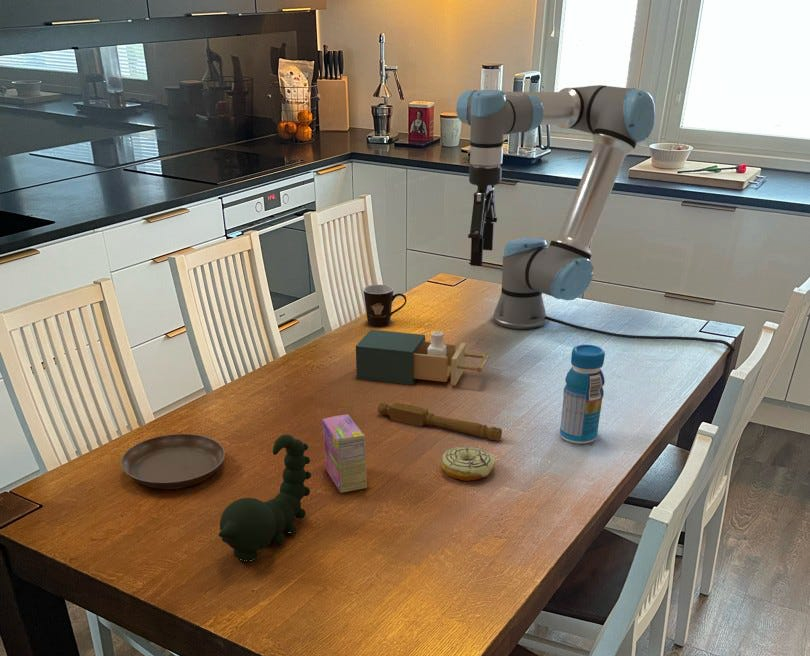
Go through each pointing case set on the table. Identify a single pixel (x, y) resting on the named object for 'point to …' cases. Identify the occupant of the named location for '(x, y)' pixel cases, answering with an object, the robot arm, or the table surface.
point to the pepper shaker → (437, 344)
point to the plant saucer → (173, 460)
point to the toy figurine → (268, 507)
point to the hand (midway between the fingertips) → (481, 257)
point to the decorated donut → (467, 463)
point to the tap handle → (436, 420)
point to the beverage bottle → (583, 395)
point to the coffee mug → (380, 304)
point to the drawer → (443, 363)
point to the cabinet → (387, 356)
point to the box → (345, 453)
